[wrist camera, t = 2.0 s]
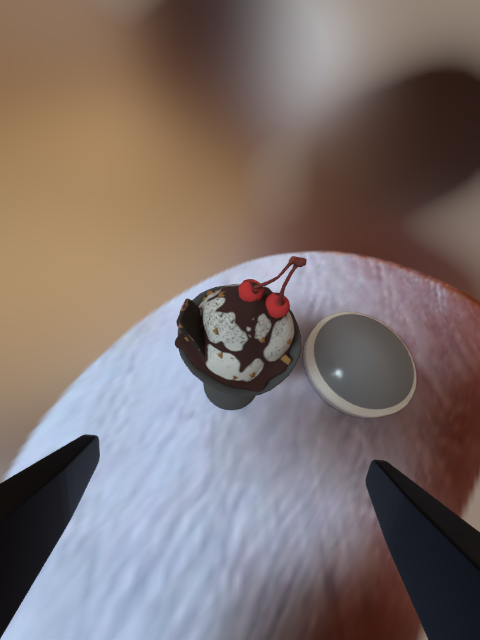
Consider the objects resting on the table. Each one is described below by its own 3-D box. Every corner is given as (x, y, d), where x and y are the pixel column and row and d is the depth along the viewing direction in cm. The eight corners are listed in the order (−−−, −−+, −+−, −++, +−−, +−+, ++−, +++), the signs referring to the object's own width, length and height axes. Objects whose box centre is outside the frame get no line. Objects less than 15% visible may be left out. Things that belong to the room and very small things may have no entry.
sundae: (280, 371, 22) (368, 257, 9) (241, 437, 19) (291, 404, 6) (223, 334, 24) (230, 190, 11) (178, 390, 21) (114, 285, 8)
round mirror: (408, 433, 21) (426, 431, 19) (296, 400, 21) (303, 395, 20) (400, 333, 26) (414, 325, 24) (309, 309, 26) (316, 298, 24)
